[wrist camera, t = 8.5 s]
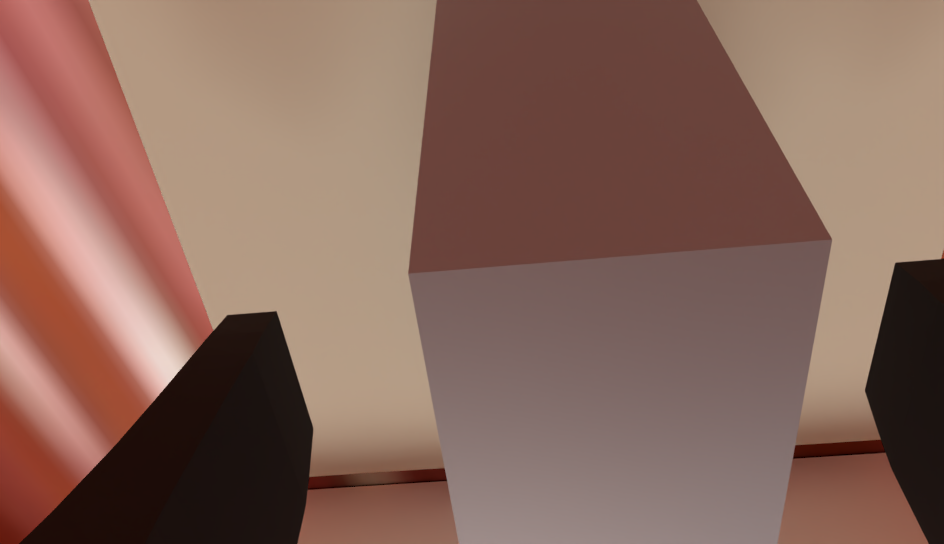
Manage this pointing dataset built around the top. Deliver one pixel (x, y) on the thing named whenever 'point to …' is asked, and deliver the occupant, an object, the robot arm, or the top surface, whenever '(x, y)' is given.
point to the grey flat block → (608, 277)
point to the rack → (800, 538)
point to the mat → (397, 168)
